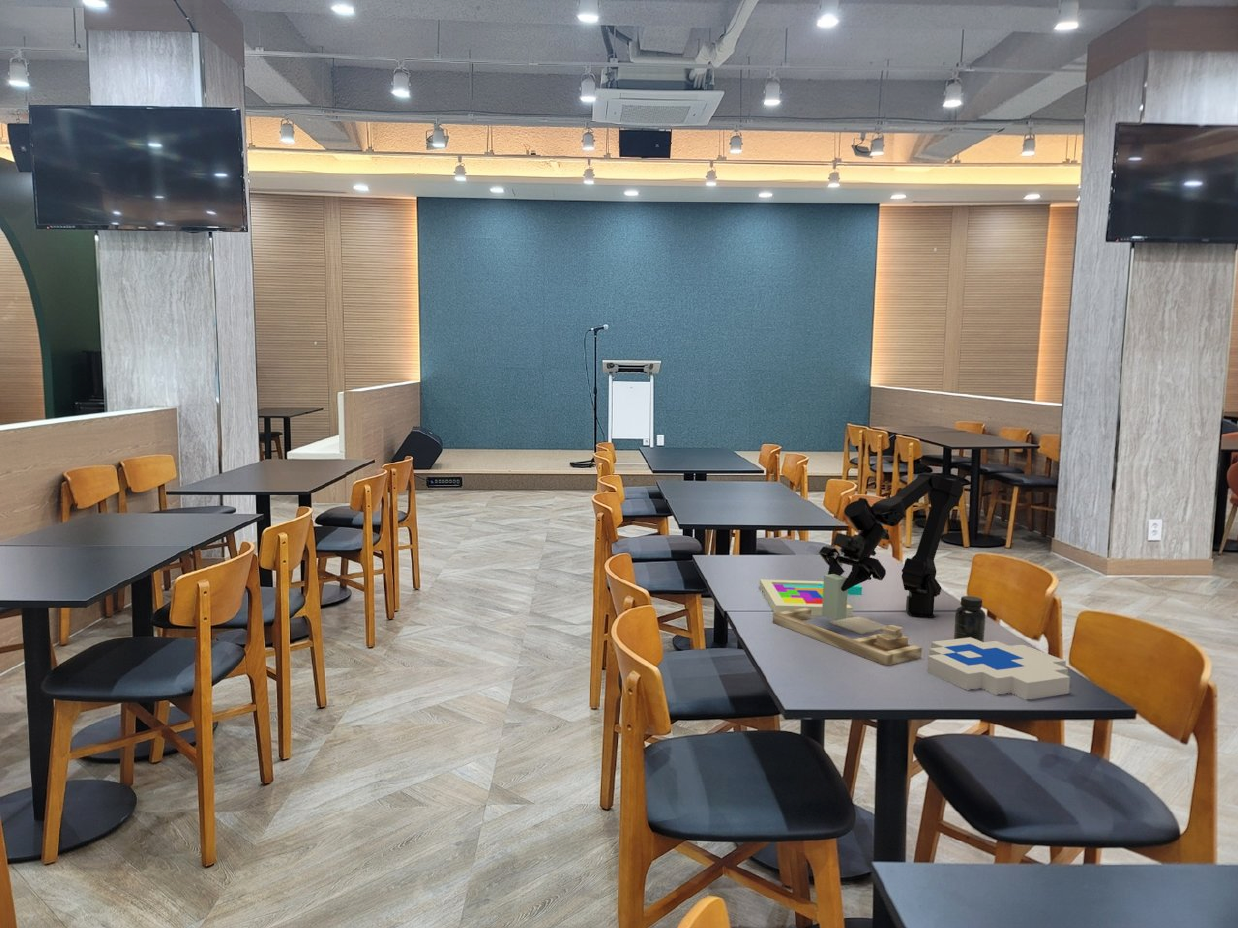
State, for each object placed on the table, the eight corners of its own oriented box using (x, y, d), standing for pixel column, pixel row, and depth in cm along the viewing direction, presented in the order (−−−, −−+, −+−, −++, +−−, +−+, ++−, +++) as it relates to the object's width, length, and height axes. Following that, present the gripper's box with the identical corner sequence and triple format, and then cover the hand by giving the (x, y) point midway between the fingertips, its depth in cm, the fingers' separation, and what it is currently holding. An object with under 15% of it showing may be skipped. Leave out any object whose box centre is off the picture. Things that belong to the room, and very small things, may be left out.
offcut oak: (896, 640, 205) (897, 632, 205) (907, 645, 201) (908, 637, 201) (876, 642, 203) (876, 634, 202) (887, 648, 199) (887, 639, 199)
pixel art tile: (997, 687, 171) (903, 644, 197) (995, 706, 171) (902, 661, 197) (1097, 672, 181) (996, 634, 207) (1096, 690, 181) (995, 650, 207)
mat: (858, 617, 231) (858, 616, 231) (890, 628, 222) (890, 626, 222) (829, 622, 225) (829, 621, 225) (861, 634, 216) (861, 632, 216)
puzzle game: (775, 616, 232) (884, 619, 232) (775, 605, 232) (885, 608, 231) (759, 588, 262) (856, 591, 262) (759, 579, 262) (856, 582, 261)
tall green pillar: (831, 613, 221) (833, 573, 220) (846, 617, 217) (848, 578, 215) (822, 614, 219) (823, 575, 218) (836, 619, 215) (838, 579, 214)
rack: (805, 616, 231) (806, 607, 230) (920, 657, 199) (921, 647, 198) (772, 622, 224) (773, 613, 224) (886, 665, 192) (886, 655, 192)
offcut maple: (890, 632, 204) (890, 624, 204) (902, 635, 202) (902, 627, 202) (882, 636, 201) (882, 628, 201) (894, 639, 199) (894, 631, 199)
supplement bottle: (973, 641, 213) (976, 594, 212) (989, 649, 206) (992, 601, 205) (948, 641, 212) (951, 594, 210) (963, 650, 205) (966, 602, 204)
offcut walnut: (893, 649, 206) (893, 639, 206) (909, 655, 202) (910, 645, 202) (873, 653, 203) (873, 643, 202) (889, 659, 198) (889, 649, 198)
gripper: (825, 516, 226) (793, 561, 221) (880, 528, 210) (847, 576, 205) (844, 542, 231) (813, 586, 226) (900, 555, 215) (867, 603, 210)
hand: (834, 587), depth 217 cm, fingers closed on tall green pillar, 5 cm apart
